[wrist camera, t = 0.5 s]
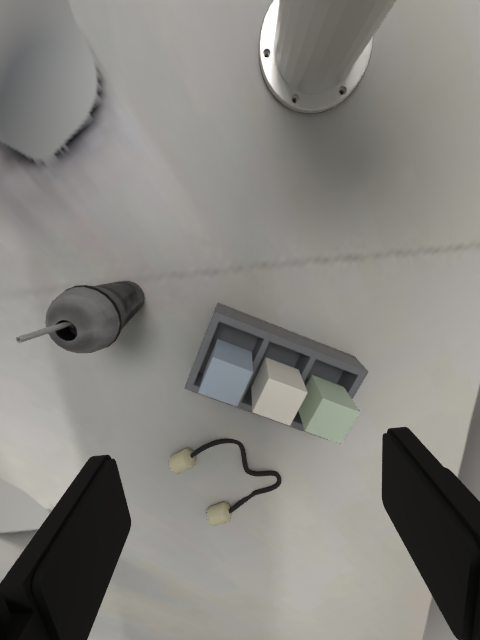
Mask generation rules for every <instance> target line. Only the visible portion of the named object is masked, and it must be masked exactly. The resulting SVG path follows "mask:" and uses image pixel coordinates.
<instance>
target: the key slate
mask: <svg viewBox="0 0 480 640" xmlns="http://www.w3.org/2000/svg"><path fill="white" fill-rule="evenodd" d="M252 374H253V362H252V352H251V351H248V350H246V349H243V348H241V347H238V346H235V345H233V344H230V343H227V342H225V341H222V340H220V339H217V341H216V344H215V346H214V348H213V351H212V353H211V356H210V358H209V361H208V363H207V366H206V368H205V371H204V374H203V378H202V381H201V385H200V388H199V392H198V393H200V394H203V395H206V396H208V397H211V398H214V399H217V400H220V401H222V402H225V403H228V404H231V405H233V406H236V407H237V406H238V404H239V402H240V400H241V397H242V395H243V393H244V391H245V389H246V387H247V384H248V382H249V380H250V378H251V376H252Z"/></svg>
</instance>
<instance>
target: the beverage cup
mask: <svg viewBox="0 0 480 640" xmlns="http://www.w3.org/2000/svg"><path fill="white" fill-rule="evenodd" d="M143 303H144V293H143V291H142V289H141V288H140V287H139V285H137V284H136V283H134V282H131V281H122V282H114V283H109V284H103V285H98V286H87V285H83V286H74V287H72V288H69V289H66V290H65V291H64V292H63V293H61V294H60V295H59V296H58V297H57V298H56V299H55V300H54V301H52V303H51V304H50V306H49V308H48V311H47V313H46V322H45V324H46V328H44V329H41V330H38V331H35V332H32V333H28V334H25V335H22V336H19V337H16V341H17V342H18V343H21V342H24V341H27V340H30V339H33V338H36V337H39V336H42V335H44V334H47V333H48V334H49V335H50V337H51V339H52V340H53V341H54V342H55V343H56V344H57V345H58V346H60V347H62V348H63V349H65V350H67V351H71V352H75V353H92V352H95V351H97V350H100V349H103V348H106V347H108V346H110V345H111V344H112V343H113V342H115V341H116V339H117V337H118V336H119V334H120V332H121V330H122V328H123V327H124V326H125V325H126V324H127V322H128V321H129V320H130V319H131V318H132V317H133V316H134V315H135V314H136V313H137V312H138V310H139V309H140V307H141V306H142V305H143Z"/></svg>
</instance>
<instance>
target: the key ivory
mask: <svg viewBox="0 0 480 640" xmlns="http://www.w3.org/2000/svg"><path fill="white" fill-rule="evenodd" d="M251 392H252V412H253V413H256V414H258V415H261V416H264V417H267V418H270V419H272V420H275V421H278V422H281V423H283V424H286V425H289V426H290V425H291V423H292V421H293V419H294V417H295V415H296V414H297V412H298V410H299V408H300V406H301V404H302V402H303V401H304V399H305V397H306V395H307V393H308V392H307V389H306V387H305V384H304V382H303V379H302V377H301V374H300V372H299V370H298V369H296V368H293V367H290V366H288V365H285V364H283V363H280V362H277V361H275V360H272V359H269V358H267V357H265V359H264V361H263V363H262V365H261V367H260V370H259V372H258V374H257V376H256V378H255V380H254V382H253V385H252V387H251Z"/></svg>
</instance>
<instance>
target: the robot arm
mask: <svg viewBox="0 0 480 640" xmlns="http://www.w3.org/2000/svg"><path fill="white" fill-rule="evenodd" d="M395 2H396V0H273V1H272V3H271V4H270V6H269V8H268V10H267V13H266V15H265V17H264V20H263V24H262V28H261V33H260V41H259V59H260V66H261V70H262V74H263V77H264V80H265V82H266V84H267V86H268V88H269V90H270V91H271V92H272V94H273V95H274V96H275V97H276V99H278V100H279V101H280V102H281V103H282V104H283V105H285V106H286V107H288V108H290V109H292V110H294V111H298V112H302V113H318V112H323V111H326V110H328V109H331V108H333V107H335V106H336V105H338V104H339V103H341V102H342V101H343V100H344V99H345V98H346V97H348V96H349V95H350V94H351V92H352V91H353V90H354V89H355V87H356V86H357V85H358V83H359V81H360V80H361V78H362V77H363V75H364V73H365V70H366V68H367V66H368V63H369V60H370V56H371V52H372V44H373V35H374V34H375V32H376V31H377V29H378V28H379V26H380V25H381V23H382V22H383V20H384V19H385V17H386V15H387V14H388V12H389V11H390V9H391V8H392V6H393V5H394V3H395ZM264 56H268V58H265V57H264ZM339 92H342V95H341V94H340V93H339ZM292 100H295V101H296V103H293V102H292ZM382 501H383V505H384V507H385V509H386V511H387V513H388V515H389V517H390V519H391V521H392V522H393V524H394V526H395V528H396V530H397V532H398V533H399V535H400V537H401V539H402V541H403V543H404V545H405V546H406V548H407V550H408V552H409V554H410V556H411V557H412V559H413V561H414V563H415V565H416V567H417V568H418V570H419V572H420V574H421V576H422V578H423V579H424V581H425V583H426V585H427V587H428V589H429V590H430V592H431V594H432V596H433V598H434V600H435V601H436V603H437V605H438V607H439V609H440V611H441V612H442V614H443V616H444V618H445V620H446V622H447V623H448V625H449V627H450V629H451V631H452V632H453V634H454V635H455V637H456V638H457V639H458V640H480V502H479V501H478V499H476V497H475V496H474V495H473V494H472V493H471V492H470V491H469V490H468V489H467V488H466V487H465V485H464V484H462V482H461V481H460V480H459V479H458V478H457V477H456V476H455V475H454V474H453V473H452V472H451V471H450V470H449V469H447V468H445V467H443V466H442V465H441V463H440V462H439V461H438V460H437V459H436V458H435V457H434V456H433V455H432V454H431V453H430V451H429V450H428V449H427V448H426V447H425V446H424V445H423V444H422V443H421V442H420V440H419V439H418V438H417V437H416V436H415V435H414V434H413V433H412V432H411V431H410V429H408V428H407V427H400V428H390V429H388V431H387V433H385V434H383V448H382ZM130 527H131V517H130V514H129V510H128V506H127V502H126V498H125V494H124V491H123V487H122V483H121V479H120V475H119V471H118V467H117V464H116V461H115V459H111V457H110V456H109V455H101V456H92V457H90V459H89V460H88V461H87V462H86V464H85V465H84V467H83V468H82V469H81V471H80V472H79V474H78V475H77V476H76V478H75V479H74V481H73V482H72V483H71V485H70V486H69V488H68V489H67V491H66V492H65V493H64V495H63V496H62V498H61V499H60V500H59V502H58V503H57V505H56V506H55V507H54V509H53V510H52V512H51V513H50V514H49V516H48V517H47V519H46V520H45V522H44V523H43V524H42V526H41V527H40V528H39V530H38V531H37V533H36V534H35V535H34V537H33V538H32V540H31V541H30V542H29V544H28V545H27V547H26V548H25V549H24V551H23V552H22V554H21V555H20V557H19V558H18V559H17V561H16V562H15V564H14V565H13V566H12V568H11V569H10V571H9V572H8V573H7V575H6V576H5V578H4V579H3V580H2V582H1V583H0V640H87V639H88V636H89V633H90V631H91V628H92V626H93V623H94V621H95V618H96V616H97V613H98V610H99V608H100V605H101V603H102V600H103V598H104V595H105V593H106V590H107V587H108V585H109V582H110V580H111V577H112V575H113V572H114V569H115V567H116V564H117V562H118V559H119V557H120V554H121V552H122V549H123V546H124V544H125V541H126V539H127V536H128V534H129V531H130Z"/></svg>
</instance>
